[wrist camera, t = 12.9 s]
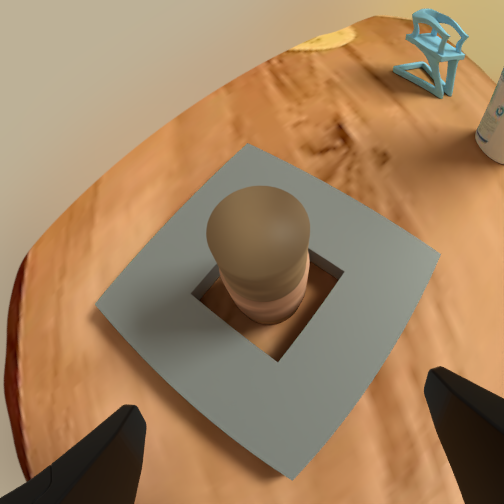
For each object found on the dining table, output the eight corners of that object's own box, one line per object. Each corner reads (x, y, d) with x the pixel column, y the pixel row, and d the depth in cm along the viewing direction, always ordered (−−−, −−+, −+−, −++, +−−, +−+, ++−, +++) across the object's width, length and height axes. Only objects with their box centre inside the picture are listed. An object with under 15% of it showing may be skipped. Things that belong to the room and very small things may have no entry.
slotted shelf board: (291, 473, 17) (292, 480, 16) (106, 310, 24) (94, 304, 23) (431, 264, 23) (440, 254, 21) (250, 157, 30) (247, 143, 28)
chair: (431, 102, 32) (453, 30, 21) (391, 70, 36) (403, 2, 25) (459, 94, 33) (480, 31, 22) (421, 65, 37) (435, 5, 26)
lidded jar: (238, 331, 23) (204, 288, 14) (232, 265, 25) (201, 191, 16) (309, 321, 22) (324, 270, 13) (298, 256, 25) (302, 176, 16)
